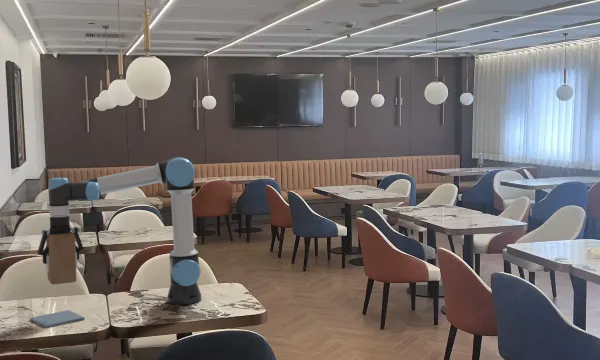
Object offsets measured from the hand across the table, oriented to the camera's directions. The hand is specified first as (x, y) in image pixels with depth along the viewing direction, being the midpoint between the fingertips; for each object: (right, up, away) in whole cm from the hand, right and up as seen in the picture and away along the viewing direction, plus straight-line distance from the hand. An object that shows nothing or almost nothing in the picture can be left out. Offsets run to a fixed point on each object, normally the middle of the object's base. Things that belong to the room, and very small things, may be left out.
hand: (61, 269), depth 271 cm
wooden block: (0, -5, 0) cm, 5 cm away
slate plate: (-2, -21, 0) cm, 21 cm away
